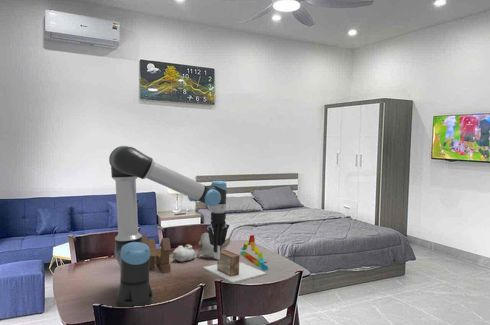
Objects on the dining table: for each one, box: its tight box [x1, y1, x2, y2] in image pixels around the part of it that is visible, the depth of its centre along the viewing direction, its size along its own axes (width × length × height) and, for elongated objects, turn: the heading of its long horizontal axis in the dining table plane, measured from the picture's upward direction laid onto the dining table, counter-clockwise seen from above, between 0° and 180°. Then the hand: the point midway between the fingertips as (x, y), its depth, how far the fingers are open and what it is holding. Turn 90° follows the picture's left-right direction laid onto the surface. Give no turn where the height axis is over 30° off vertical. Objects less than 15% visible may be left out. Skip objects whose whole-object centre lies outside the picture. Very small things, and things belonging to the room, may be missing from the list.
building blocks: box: [137, 202, 172, 274], centre depth 191 cm, size 19×25×35 cm
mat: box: [202, 261, 267, 284], centre depth 194 cm, size 22×26×1 cm
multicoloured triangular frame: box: [240, 234, 269, 271], centre depth 211 cm, size 30×3×15 cm, turn 24°
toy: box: [196, 232, 231, 260], centre depth 214 cm, size 8×15×20 cm
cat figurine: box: [170, 244, 196, 263], centre depth 209 cm, size 10×8×15 cm
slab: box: [217, 249, 241, 277], centre depth 189 cm, size 5×12×10 cm, turn 40°
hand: (217, 258), depth 185 cm, fingers closed
